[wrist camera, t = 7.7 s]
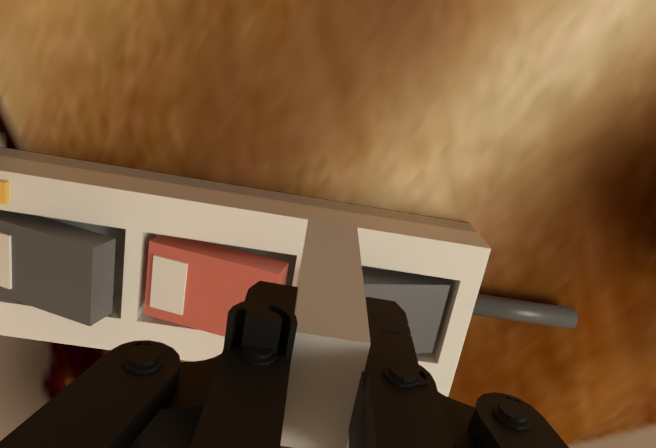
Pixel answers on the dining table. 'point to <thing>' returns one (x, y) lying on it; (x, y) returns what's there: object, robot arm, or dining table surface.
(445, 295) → the rocker
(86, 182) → the strip
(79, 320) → the rocker
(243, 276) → the rocker mid
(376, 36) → the dining table surface
